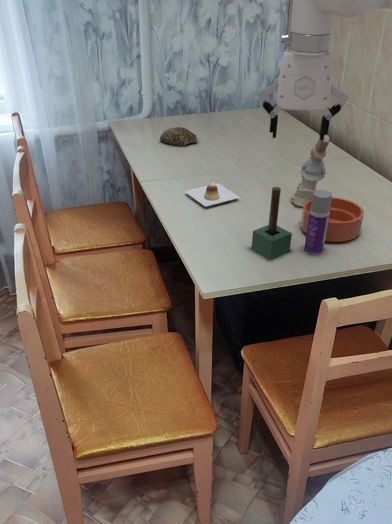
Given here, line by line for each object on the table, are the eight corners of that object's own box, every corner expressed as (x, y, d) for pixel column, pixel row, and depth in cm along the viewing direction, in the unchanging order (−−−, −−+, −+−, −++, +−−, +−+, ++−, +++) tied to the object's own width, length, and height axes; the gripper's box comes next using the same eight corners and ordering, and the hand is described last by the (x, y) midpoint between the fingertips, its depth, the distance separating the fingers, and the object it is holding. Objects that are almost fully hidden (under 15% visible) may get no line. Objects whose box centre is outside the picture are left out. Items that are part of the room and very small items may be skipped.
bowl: (371, 232, 144) (376, 211, 140) (332, 250, 136) (336, 228, 132) (326, 212, 153) (330, 192, 149) (288, 227, 146) (291, 206, 142)
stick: (275, 249, 136) (282, 188, 126) (270, 252, 135) (276, 191, 125) (270, 246, 138) (276, 186, 127) (264, 249, 137) (270, 188, 126)
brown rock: (155, 141, 197) (154, 127, 194) (178, 132, 204) (177, 119, 201) (181, 149, 191) (181, 135, 188) (204, 140, 198) (204, 126, 195)
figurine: (319, 210, 154) (331, 138, 141) (289, 206, 156) (298, 135, 143) (321, 197, 161) (332, 127, 148) (292, 194, 162) (301, 125, 149)
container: (302, 253, 135) (311, 196, 125) (305, 244, 138) (314, 188, 129) (321, 256, 134) (331, 199, 124) (324, 247, 137) (334, 191, 128)
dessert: (204, 210, 154) (205, 193, 151) (183, 194, 162) (183, 179, 158) (239, 201, 158) (240, 185, 155) (217, 186, 166) (218, 171, 163)
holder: (289, 251, 136) (292, 233, 133) (270, 259, 133) (272, 241, 129) (270, 240, 140) (272, 223, 137) (251, 248, 137) (252, 230, 134)
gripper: (262, 45, 98) (254, 141, 109) (359, 48, 97) (342, 145, 108) (263, 37, 104) (256, 129, 115) (354, 40, 102) (338, 133, 113)
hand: (297, 137), depth 111 cm, fingers open, 9 cm apart
